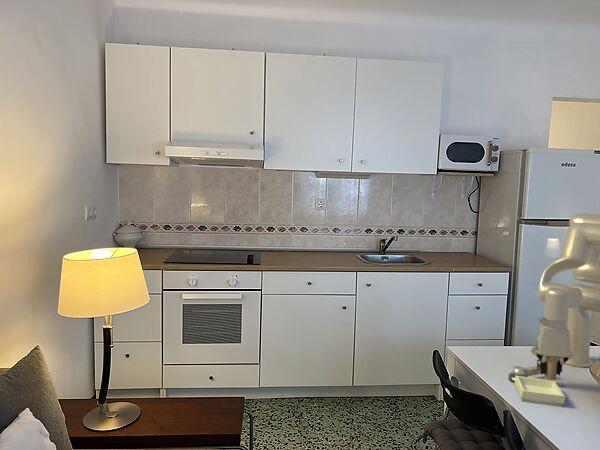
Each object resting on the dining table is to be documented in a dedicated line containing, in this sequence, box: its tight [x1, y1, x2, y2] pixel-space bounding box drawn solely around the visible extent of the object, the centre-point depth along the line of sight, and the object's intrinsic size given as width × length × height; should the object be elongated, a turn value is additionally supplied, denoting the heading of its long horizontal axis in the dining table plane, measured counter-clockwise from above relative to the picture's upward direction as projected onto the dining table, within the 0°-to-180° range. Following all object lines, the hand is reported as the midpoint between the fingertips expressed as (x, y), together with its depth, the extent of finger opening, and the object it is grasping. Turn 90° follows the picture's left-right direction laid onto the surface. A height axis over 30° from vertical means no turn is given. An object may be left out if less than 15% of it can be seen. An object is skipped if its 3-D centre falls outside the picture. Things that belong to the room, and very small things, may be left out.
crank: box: [512, 358, 544, 377], centre depth 174 cm, size 14×4×5 cm, turn 111°
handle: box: [543, 356, 558, 382], centre depth 169 cm, size 5×6×15 cm
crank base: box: [507, 372, 566, 388], centre depth 171 cm, size 7×19×2 cm, turn 76°
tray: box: [514, 376, 566, 408], centre depth 161 cm, size 13×13×4 cm
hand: (550, 372), depth 170 cm, fingers closed on handle, 4 cm apart
